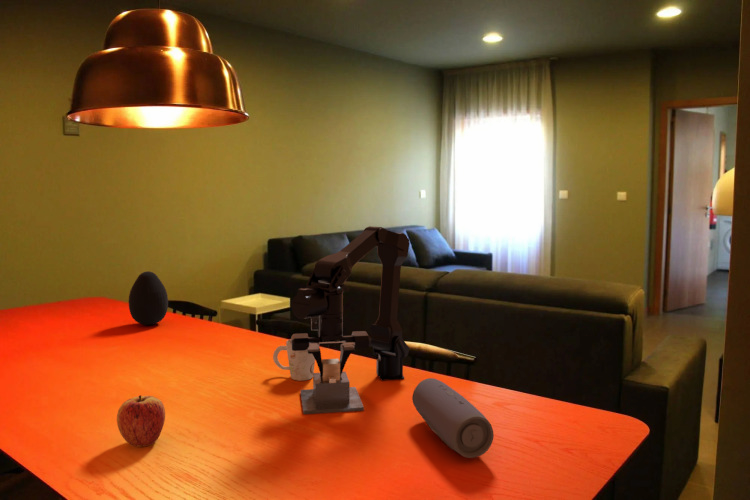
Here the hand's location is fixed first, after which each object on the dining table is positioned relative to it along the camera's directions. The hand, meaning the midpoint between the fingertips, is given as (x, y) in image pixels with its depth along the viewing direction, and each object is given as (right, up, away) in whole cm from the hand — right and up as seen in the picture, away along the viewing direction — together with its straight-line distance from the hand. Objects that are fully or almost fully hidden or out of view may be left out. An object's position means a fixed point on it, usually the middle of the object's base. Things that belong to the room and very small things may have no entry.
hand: (330, 375), depth 142 cm
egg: (-73, +2, +77) cm, 106 cm away
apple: (-36, -9, -23) cm, 44 cm away
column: (0, -5, +1) cm, 5 cm away
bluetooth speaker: (+26, -9, -20) cm, 34 cm away
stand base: (0, -7, +1) cm, 6 cm away
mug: (-11, -5, +19) cm, 23 cm away
